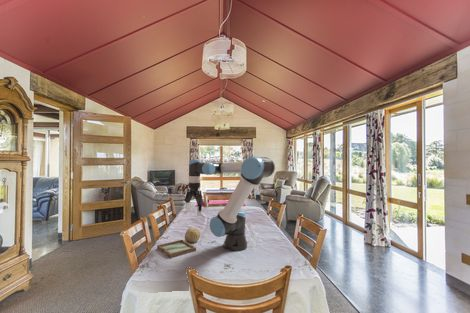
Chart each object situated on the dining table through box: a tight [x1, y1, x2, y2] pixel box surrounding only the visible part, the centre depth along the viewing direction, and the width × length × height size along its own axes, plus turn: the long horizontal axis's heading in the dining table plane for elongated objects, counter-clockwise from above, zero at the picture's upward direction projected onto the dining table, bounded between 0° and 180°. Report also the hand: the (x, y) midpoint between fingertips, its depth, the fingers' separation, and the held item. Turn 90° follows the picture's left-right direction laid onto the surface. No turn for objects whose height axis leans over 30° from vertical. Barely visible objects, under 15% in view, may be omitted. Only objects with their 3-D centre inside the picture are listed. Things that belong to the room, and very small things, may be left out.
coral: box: [184, 227, 201, 244], centre depth 160 cm, size 10×10×10 cm
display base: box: [156, 239, 197, 259], centre depth 145 cm, size 17×17×2 cm
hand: (193, 214), depth 160 cm, fingers open, 13 cm apart
